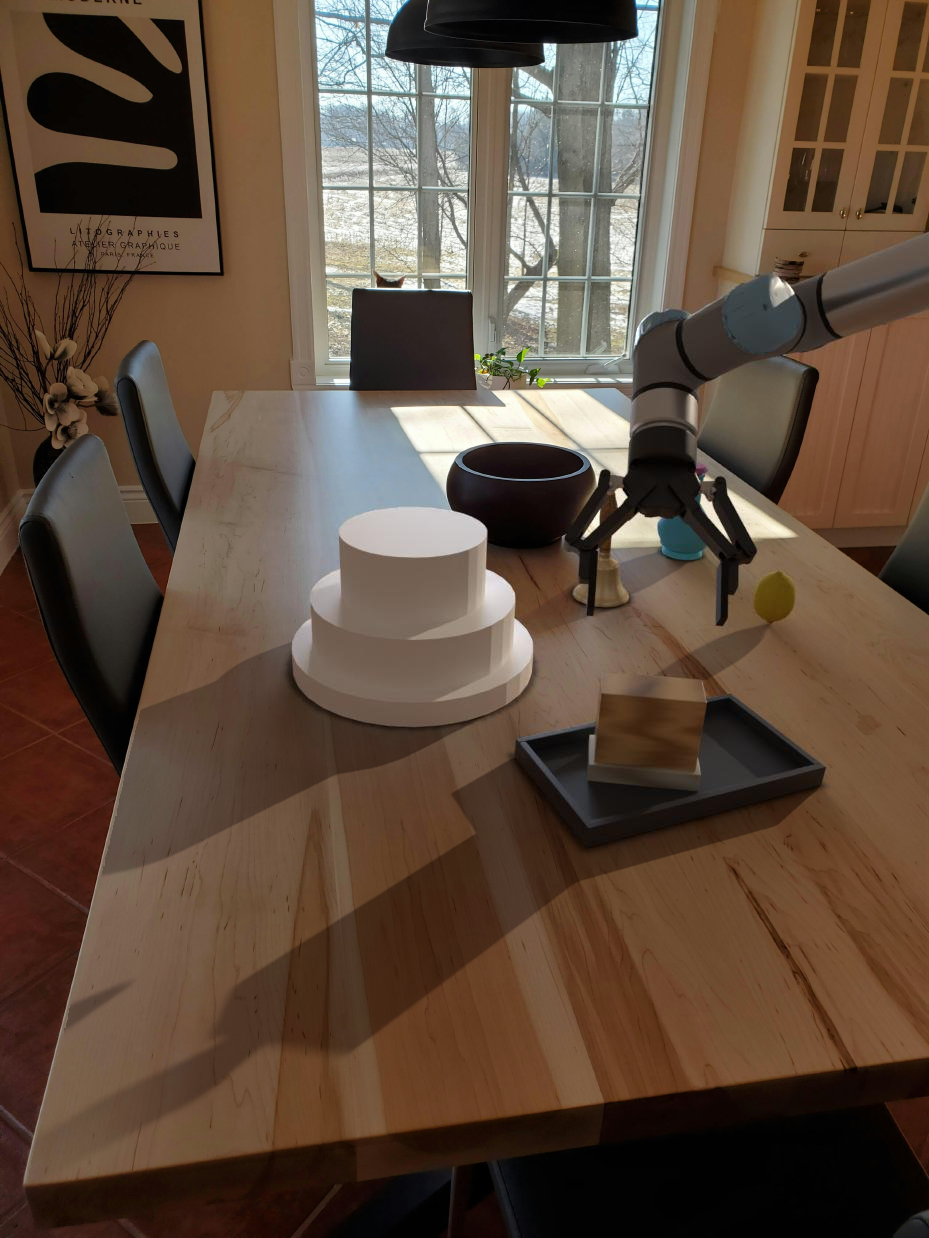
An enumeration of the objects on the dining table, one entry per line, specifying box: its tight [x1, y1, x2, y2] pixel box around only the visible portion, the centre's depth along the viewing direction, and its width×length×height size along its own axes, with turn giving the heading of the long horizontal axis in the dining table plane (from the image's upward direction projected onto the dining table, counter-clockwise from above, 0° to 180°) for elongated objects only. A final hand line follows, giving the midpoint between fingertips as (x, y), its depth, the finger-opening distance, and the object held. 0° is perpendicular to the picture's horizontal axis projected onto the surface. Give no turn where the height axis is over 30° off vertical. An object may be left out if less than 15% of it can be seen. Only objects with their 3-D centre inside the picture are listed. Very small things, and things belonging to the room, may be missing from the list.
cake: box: [291, 506, 534, 728], centre depth 110 cm, size 30×30×18 cm
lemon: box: [752, 570, 797, 625], centre depth 125 cm, size 6×6×8 cm
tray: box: [514, 693, 827, 849], centre depth 93 cm, size 16×28×2 cm, turn 112°
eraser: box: [587, 670, 707, 792], centre depth 90 cm, size 11×6×10 cm, turn 82°
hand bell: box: [572, 492, 630, 608], centre depth 130 cm, size 8×8×16 cm
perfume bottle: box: [656, 462, 709, 561], centre depth 147 cm, size 9×9×15 cm
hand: (655, 617), depth 94 cm, fingers open, 13 cm apart
